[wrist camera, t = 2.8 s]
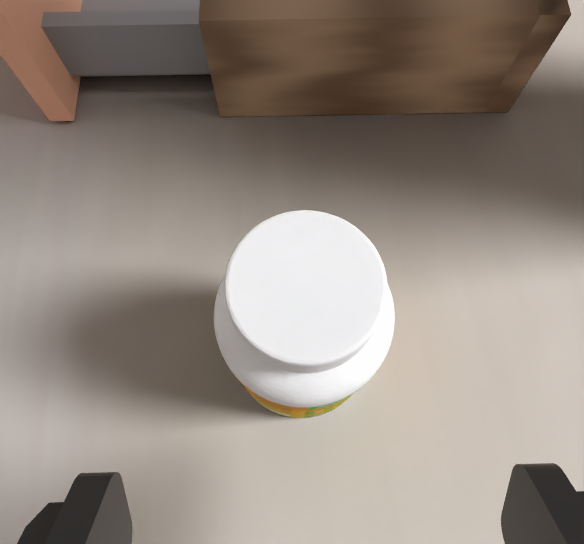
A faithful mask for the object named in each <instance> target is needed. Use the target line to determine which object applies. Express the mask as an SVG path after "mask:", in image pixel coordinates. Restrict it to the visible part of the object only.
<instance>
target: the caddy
mask: <svg viewBox="0 0 584 544" xmlns="http://www.w3.org/2000/svg"><path fill="white" fill-rule="evenodd" d="M570 16H571V12H570V8H569V5H568V1H567V0H200V5H199V25H200V29H201V34H202V38H203V43H204V47H205V52H206V56H207V61H208V65H209V70H210V74H211V79H212V83H213V88H214V92H215V97H216V101H217V106H218V110H219V115H220V117H246V116H303V115H360V114H418V113H475V112H508V111H509V110H510V108H511V107H512V105H513V104H514V102H515V101H516V99H517V97H518V96H519V94H520V93H521V91H522V90H523V88H524V87H525V85H526V84H527V82H528V80H529V79H530V77H531V76H532V74H533V73H534V71H535V70H536V68H537V67H538V65H539V64H540V62H541V60H542V59H543V57H544V56H545V54H546V53H547V51H548V50H549V48H550V47H551V45H552V43H553V42H554V40H555V39H556V37H557V36H558V34H559V33H560V31H561V30H562V28H563V26H564V25H565V23H566V22H567V20H568V19H569V17H570Z"/></svg>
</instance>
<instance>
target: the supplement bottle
mask: <svg viewBox="0 0 584 544" xmlns="http://www.w3.org/2000/svg"><path fill="white" fill-rule="evenodd" d="M394 322H395V314H394V304H393V299H392V295H391V292H390V289H389V286H388V284H387V277H386V272H385V268H384V265H383V262H382V259H381V257H380V255H379V253H378V251H377V250H376V248H375V247H374V245H373V244H372V243H371V241H370V240H369V239H368V238H367V237H366V236H365V235H364V234H363V233H362V232H361V231H360V230H359V229H358V228H356V227H355V226H354V225H352V224H351V223H349V222H347V221H346V220H344V219H342V218H340V217H337V216H334V215H332V214H329V213H325V212H320V211H312V210H298V211H290V212H285V213H281V214H278V215H275V216H273V217H271V218H269V219H267V220H265V221H263V222H261V223H260V224H258V225H257V226H255V227H254V228H253V229H252V230H250V231H249V232H248V233H247V234H246V235H245V236H244V237H243V238H242V239H241V241H240V242H239V244H238V245H237V247H236V248H235V250H234V252H233V253H232V255H231V257H230V260H229V263H228V266H227V269H226V274H225V275H224V277H223V279H222V281H221V284H220V286H219V289H218V292H217V296H216V300H215V307H214V329H215V335H216V339H217V342H218V346H219V349H220V351H221V354H222V356H223V358H224V360H225V362H226V364H227V365H228V367H229V368H230V370H231V371H232V373H233V374H234V376H235V377H236V378H237V379H238V380H239V382H240V383H241V384H242V385H243V386H244V387H245V389H246V390H247V391H248V392H249V394H250V395H251V396H252V397H253V398H254V399H255V400H256V401H257V402H258V403H260V404H261V405H262V406H263V407H265V408H267V409H268V410H270V411H272V412H274V413H277V414H280V415H283V416H286V417H292V418H310V417H315V416H319V415H322V414H325V413H327V412H329V411H331V410H333V409H335V408H336V407H338V406H339V405H341V404H342V403H343V402H345V401H346V400H347V399H348V398H349V397H350V396H351V395H352V394H354V393H355V392H356V391H357V390H359V389H360V388H361V387H362V386H363V385H365V384H366V383H367V382H368V381H369V380H370V379H371V378H372V376H373V375H374V374H375V373H376V372H377V370H378V369H379V367H380V365H381V364H382V362H383V360H384V359H385V357H386V355H387V353H388V350H389V347H390V344H391V341H392V337H393V332H394Z"/></svg>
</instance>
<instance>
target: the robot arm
mask: <svg viewBox="0 0 584 544" xmlns="http://www.w3.org/2000/svg"><path fill="white" fill-rule="evenodd" d="M501 527H502V533H503V538H504V542H505V544H584V491H580V492H576V491H575V489H574V487H573V486H572V484H571V483H570V481H569V480H568V478H567V476H566V475H565V473H564V472H563V470H562V469H561V468H560V467H559V466H558V465H556V464H553V463H548V464H517V465H515V466H514V468H513V470H512V473H511V478H510V482H509V486H508V490H507V494H506V498H505V502H504V506H503V510H502V515H501ZM131 542H132V521H131V517H130V512H129V508H128V504H127V499H126V495H125V491H124V486H123V482H122V478H121V475H120V474H119V473H118V472H109V473H81V474H79V475H78V476H77V477H76V478H75V480H74V482H73V484H72V486H71V488H70V490H69V493H68V495H67V497H66V499H65V501H64V502H58V503H48V504H47V505H46V506H45V507H44V508H43V510H42V511H41V512H40V513H39V514H38V515H37V516H36V517H35V518H34V519H33V520H32V521H31V522H30V523H29V524H28V525H27V526H26V528H25V530H24V531H23V533H22V535H21V537H20V539H19V541H18V543H17V544H131Z"/></svg>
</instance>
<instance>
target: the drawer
mask: <svg viewBox="0 0 584 544" xmlns="http://www.w3.org/2000/svg"><path fill="white" fill-rule="evenodd" d="M199 5H200V0H0V56H1V57H2V58H3V59H4V61H5V62H6V63H7V65H8V66H9V67H10V69H11V70H12V71H13V73H14V74H15V75H16V77H17V78H18V79H19V81H20V82H21V83H22V85H23V86H24V87H25V89H26V90H27V91H28V93H29V94H30V95H31V97H32V98H33V99H34V101H35V102H36V103H37V105H38V106H39V107H40V109H41V110H42V111H43V113H44V114H45V115H46V117H47V118H48V119H49V121H74V118H75V111H76V105H77V98H78V91H79V85H80V78H81V77H86V76H144V75H203V74H210V70H209V65H208V61H207V56H206V52H205V47H204V43H203V38H202V34H201V29H200V25H199Z"/></svg>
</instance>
